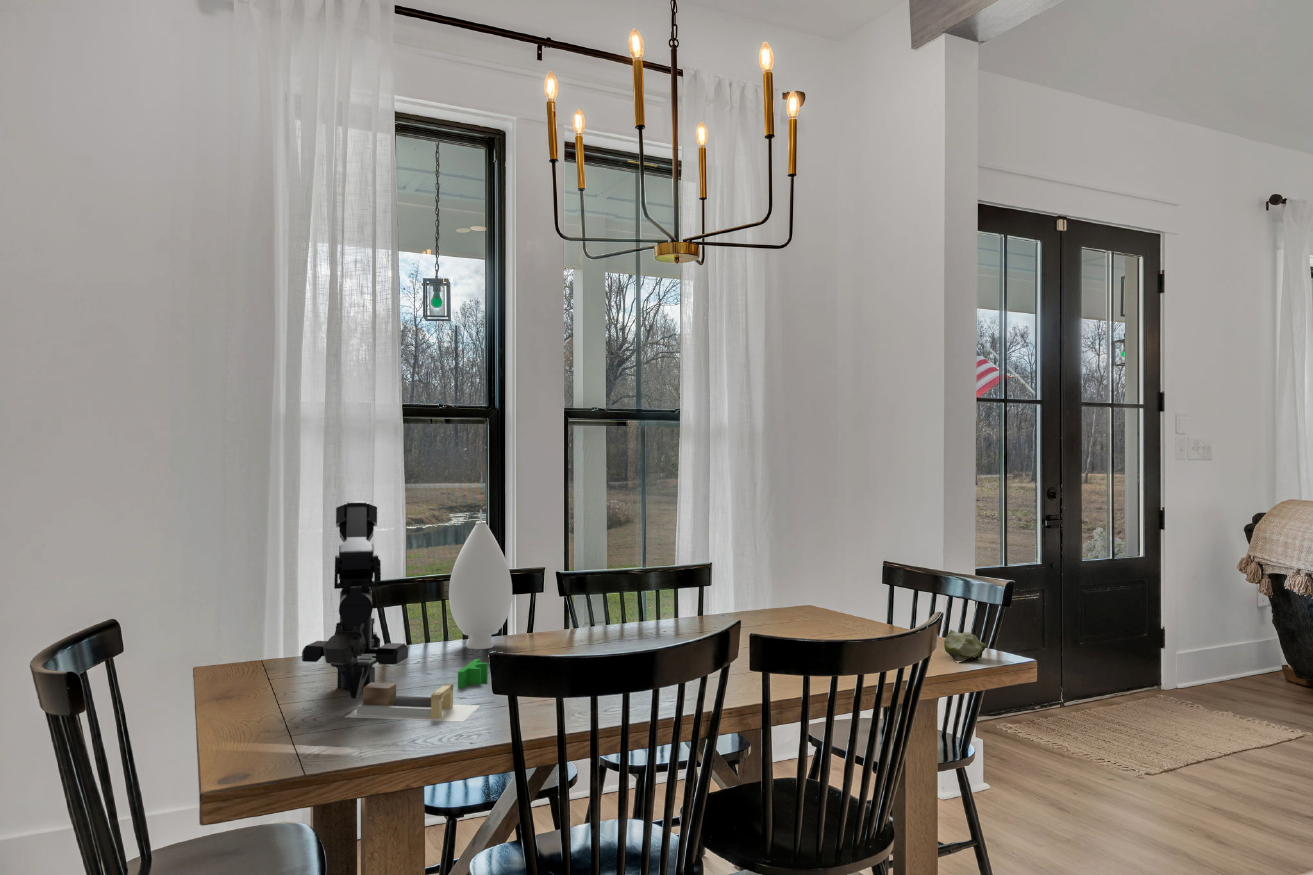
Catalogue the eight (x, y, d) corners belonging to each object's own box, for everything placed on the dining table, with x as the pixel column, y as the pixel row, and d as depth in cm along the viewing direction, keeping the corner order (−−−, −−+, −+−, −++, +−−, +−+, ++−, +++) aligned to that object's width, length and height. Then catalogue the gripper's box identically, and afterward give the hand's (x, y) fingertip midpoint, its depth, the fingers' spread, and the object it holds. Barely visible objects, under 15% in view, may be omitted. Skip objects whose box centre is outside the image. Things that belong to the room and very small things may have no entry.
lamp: (515, 651, 215) (516, 510, 216) (449, 655, 211) (451, 511, 212) (508, 638, 231) (509, 506, 231) (447, 641, 226) (448, 507, 227)
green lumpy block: (936, 662, 212) (935, 628, 214) (969, 663, 215) (967, 630, 216) (959, 663, 204) (957, 628, 205) (993, 664, 206) (991, 630, 208)
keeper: (362, 711, 162) (363, 687, 162) (370, 706, 165) (371, 682, 165) (388, 712, 161) (388, 688, 162) (396, 707, 165) (396, 683, 165)
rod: (394, 714, 162) (392, 701, 161) (400, 705, 164) (398, 692, 163) (430, 716, 161) (429, 703, 160) (435, 707, 164) (434, 694, 163)
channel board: (344, 722, 159) (344, 693, 159) (368, 706, 169) (368, 679, 169) (463, 727, 156) (463, 697, 157) (480, 710, 166) (480, 682, 166)
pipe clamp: (475, 694, 178) (475, 672, 178) (457, 693, 179) (457, 671, 179) (491, 679, 189) (491, 658, 189) (475, 679, 190) (475, 658, 190)
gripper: (286, 622, 157) (285, 708, 157) (384, 625, 155) (383, 712, 155) (317, 611, 168) (316, 691, 168) (409, 613, 166) (408, 695, 166)
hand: (354, 697), depth 164 cm, fingers closed
